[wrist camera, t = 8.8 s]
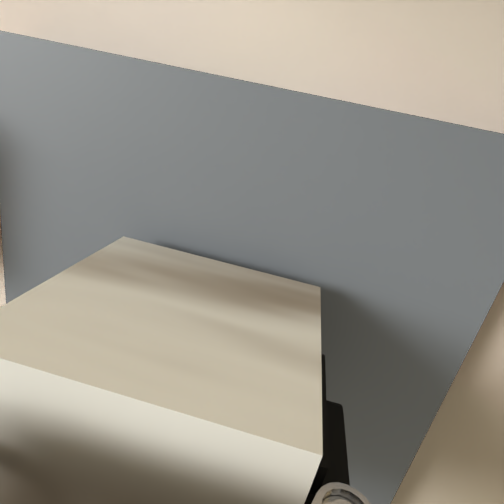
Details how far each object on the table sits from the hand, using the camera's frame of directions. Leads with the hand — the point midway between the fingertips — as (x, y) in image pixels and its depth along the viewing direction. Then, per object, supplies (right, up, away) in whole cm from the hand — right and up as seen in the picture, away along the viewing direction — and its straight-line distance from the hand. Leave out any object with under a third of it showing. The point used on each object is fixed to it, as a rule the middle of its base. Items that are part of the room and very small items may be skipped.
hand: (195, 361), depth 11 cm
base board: (+1, +1, +3) cm, 3 cm away
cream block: (0, 0, +1) cm, 1 cm away
